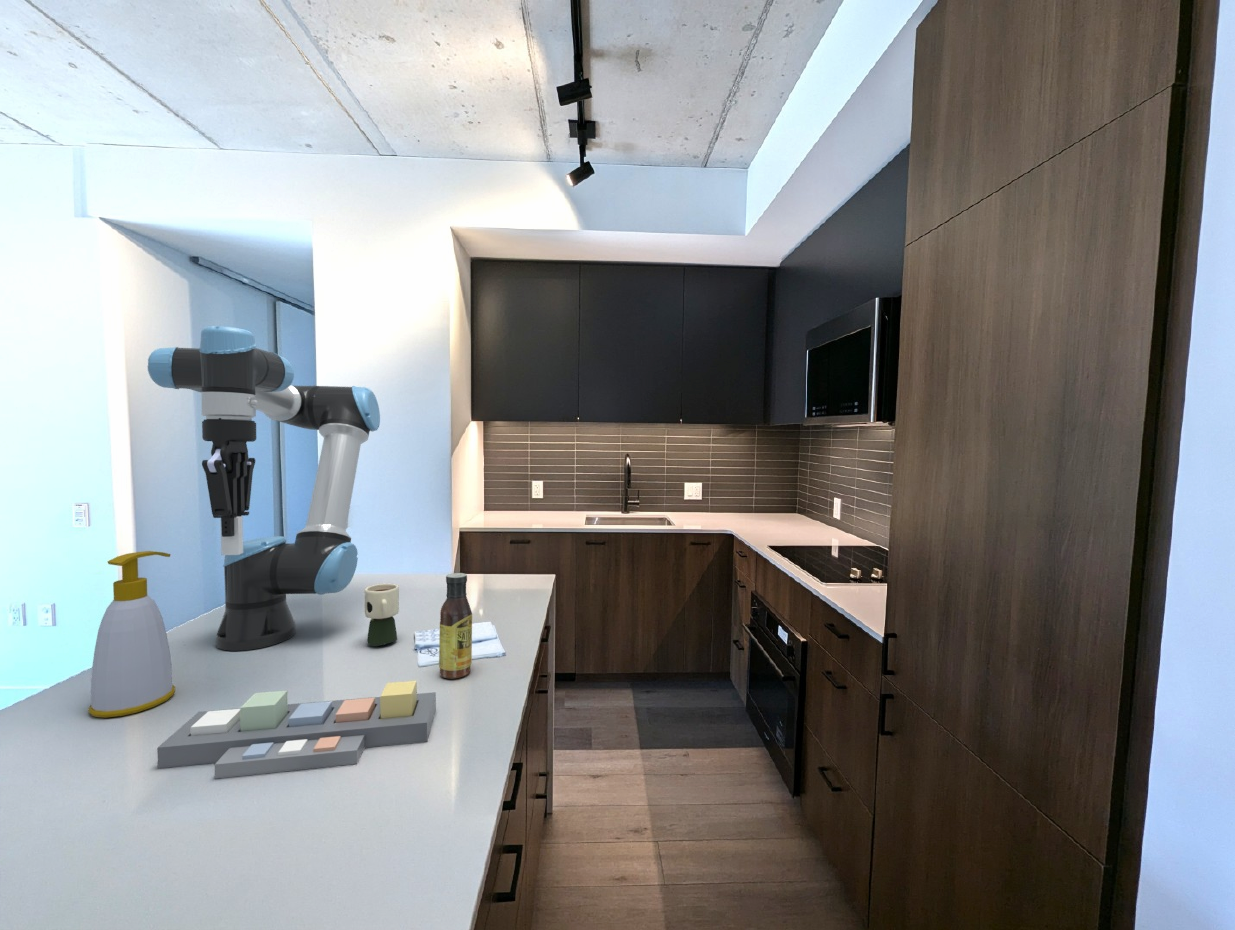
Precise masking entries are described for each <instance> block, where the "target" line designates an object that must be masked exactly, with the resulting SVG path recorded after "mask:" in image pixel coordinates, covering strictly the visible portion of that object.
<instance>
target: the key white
mask: <svg viewBox="0 0 1235 930" xmlns="http://www.w3.org/2000/svg"><path fill="white" fill-rule="evenodd" d="M230 709H231V710H225V709H218V710H219V711H213V710H207V711H208V712H207V713H206V714H205V715H204V716H203V717H201V718H200V719H199V720H198V721H197V722H196V723H195V724H194V725H193V726H191V736H198V735H209V734H221V733H228V732H229V731H230V730H231V729H232V728H233V727H234V726H235V725H236V724H237V723H238V721H239V720H240V709H237V708H230Z"/></svg>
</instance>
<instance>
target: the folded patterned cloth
mask: <svg viewBox="0 0 1235 930" xmlns="http://www.w3.org/2000/svg"><path fill="white" fill-rule="evenodd" d="M413 636H414V647H413V648H414V649H415V652H414V654H415V653H417V654H416V655H417V666H418V668H424V667H430V666H435V665H436V666H437V665H438V666H439V638H440V627H439V628H434V629H426V630H418V631H413ZM499 637H500V636H499V635H498V632H497V629H496V625H495V624H493V623H492V621H483V622H474V623H472V661H473V660H481V659H489V658H492V659H493V658H502V657H503V656H507V654H506V653H507V652H506V651H505V649H504V647H503V644H502V642H501V640H500V638H499Z"/></svg>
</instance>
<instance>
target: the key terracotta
mask: <svg viewBox="0 0 1235 930" xmlns="http://www.w3.org/2000/svg"><path fill="white" fill-rule="evenodd" d="M364 698H365V699H359V698H351V699H352V700H347V699H343V700H344V702H343V704H342V705H341V707H340V708H339V710H338V711H337V713H336V715H335V717H336V723H342V722H354V721H365V720H369V719H370V717H371V715H372V713H373V711H374V709H375V698H371V697H364Z"/></svg>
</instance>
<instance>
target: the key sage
mask: <svg viewBox="0 0 1235 930" xmlns="http://www.w3.org/2000/svg"><path fill="white" fill-rule="evenodd" d="M288 704H289V703H288V690H279V691H278V690H277V691H267V692H266V691H264V692H263V691H262V692H255V693H254V694H253V695H251V696H250V697H249V699H247V701H245V702H244V704H243V705H241V706H240V707H239V708H240V720H241V732H243V731H254V730H265V729H276V728H277V727H278V726H279V725H280V723H281V722H282V721H283V720H284V718H285V717H286V716H287V715H288Z"/></svg>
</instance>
